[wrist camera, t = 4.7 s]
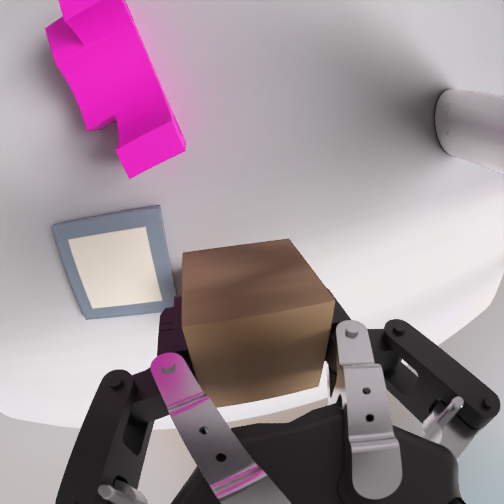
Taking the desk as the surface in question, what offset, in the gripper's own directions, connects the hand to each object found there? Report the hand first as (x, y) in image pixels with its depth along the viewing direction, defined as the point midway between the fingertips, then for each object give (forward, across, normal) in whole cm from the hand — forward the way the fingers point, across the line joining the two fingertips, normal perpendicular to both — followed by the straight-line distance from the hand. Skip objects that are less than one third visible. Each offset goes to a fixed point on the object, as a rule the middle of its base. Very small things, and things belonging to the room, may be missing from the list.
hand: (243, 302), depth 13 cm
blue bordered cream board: (+13, +10, +4) cm, 18 cm away
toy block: (+14, +7, -13) cm, 20 cm away
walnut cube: (+1, 0, 0) cm, 1 cm away
